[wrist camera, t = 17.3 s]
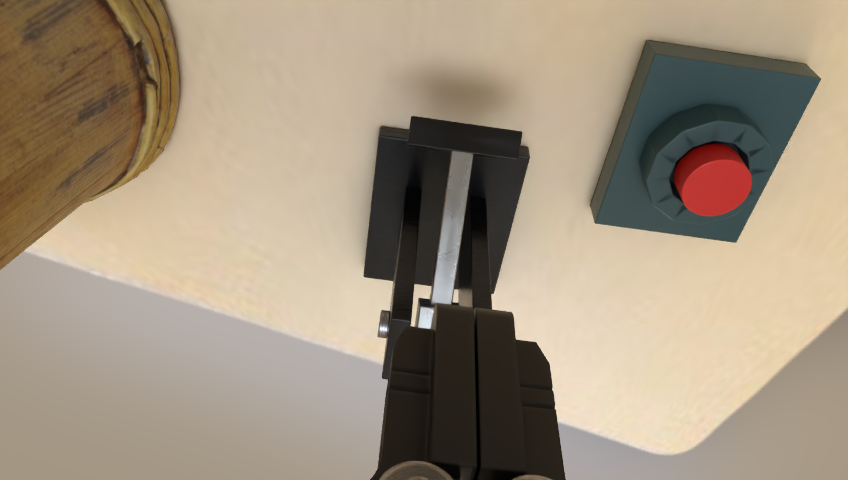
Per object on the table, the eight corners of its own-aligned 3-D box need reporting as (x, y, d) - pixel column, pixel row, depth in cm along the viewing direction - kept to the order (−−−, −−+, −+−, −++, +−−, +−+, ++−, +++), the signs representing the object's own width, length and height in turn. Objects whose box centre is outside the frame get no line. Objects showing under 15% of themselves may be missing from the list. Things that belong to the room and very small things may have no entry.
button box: (646, 39, 37) (663, 69, 34) (806, 63, 38) (838, 95, 34) (589, 205, 44) (599, 243, 41) (726, 224, 44) (746, 263, 41)
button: (687, 138, 37) (696, 155, 35) (752, 147, 37) (764, 164, 35) (664, 194, 39) (671, 211, 37) (725, 203, 39) (735, 220, 38)
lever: (410, 118, 36) (411, 114, 34) (516, 133, 36) (524, 130, 34) (380, 344, 37) (378, 356, 35) (482, 357, 37) (488, 369, 35)
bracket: (380, 125, 41) (353, 259, 31) (528, 146, 41) (550, 285, 31) (365, 266, 48) (339, 415, 37) (493, 283, 48) (501, 434, 38)
